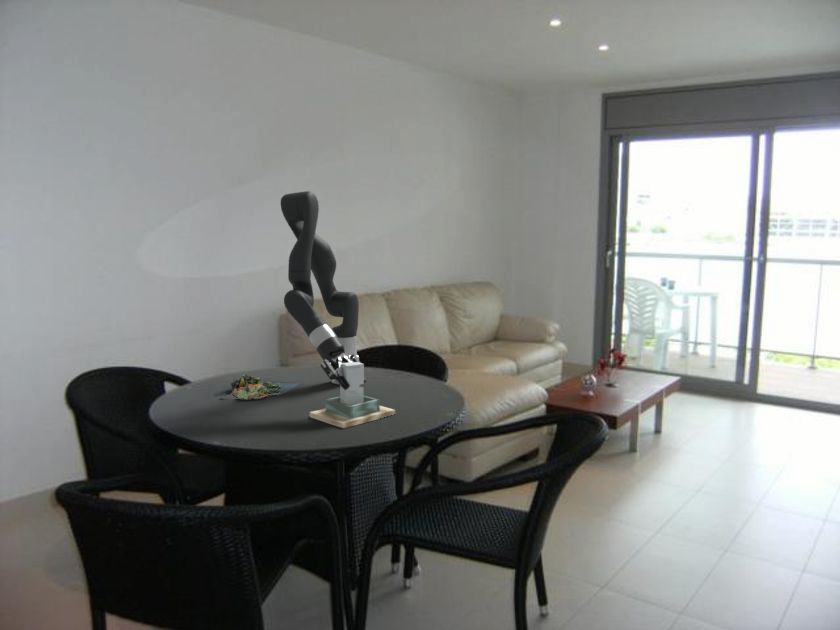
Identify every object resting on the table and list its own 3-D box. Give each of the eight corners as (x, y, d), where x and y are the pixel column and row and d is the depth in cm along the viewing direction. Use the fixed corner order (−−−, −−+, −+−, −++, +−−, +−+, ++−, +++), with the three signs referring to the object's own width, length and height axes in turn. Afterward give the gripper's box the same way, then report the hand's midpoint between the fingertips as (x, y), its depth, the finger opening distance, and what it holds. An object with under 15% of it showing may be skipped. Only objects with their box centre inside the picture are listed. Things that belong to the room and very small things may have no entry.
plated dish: (270, 409, 209) (269, 386, 208) (189, 405, 215) (188, 383, 214) (311, 385, 243) (310, 365, 242) (240, 382, 249) (240, 363, 248)
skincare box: (346, 406, 196) (346, 365, 194) (339, 402, 200) (339, 363, 198) (364, 403, 199) (364, 363, 198) (357, 399, 203) (357, 361, 201)
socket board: (360, 404, 213) (360, 389, 212) (395, 414, 202) (395, 398, 201) (309, 417, 198) (309, 400, 198) (343, 428, 187) (343, 411, 187)
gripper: (316, 338, 195) (347, 382, 190) (348, 332, 207) (377, 374, 202) (303, 354, 199) (333, 398, 194) (335, 347, 211) (364, 388, 206)
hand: (355, 385), depth 198 cm, fingers closed on skincare box, 7 cm apart
